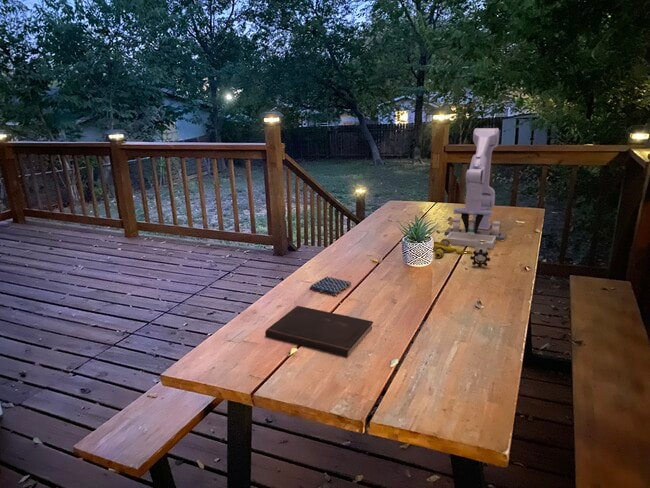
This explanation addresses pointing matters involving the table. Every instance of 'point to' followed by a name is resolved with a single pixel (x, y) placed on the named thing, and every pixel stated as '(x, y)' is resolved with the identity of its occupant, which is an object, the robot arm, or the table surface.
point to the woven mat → (330, 286)
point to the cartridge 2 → (495, 228)
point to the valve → (480, 253)
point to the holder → (479, 233)
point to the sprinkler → (446, 248)
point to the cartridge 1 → (456, 224)
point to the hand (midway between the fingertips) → (471, 232)
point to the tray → (462, 239)
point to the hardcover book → (320, 330)
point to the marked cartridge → (471, 229)
